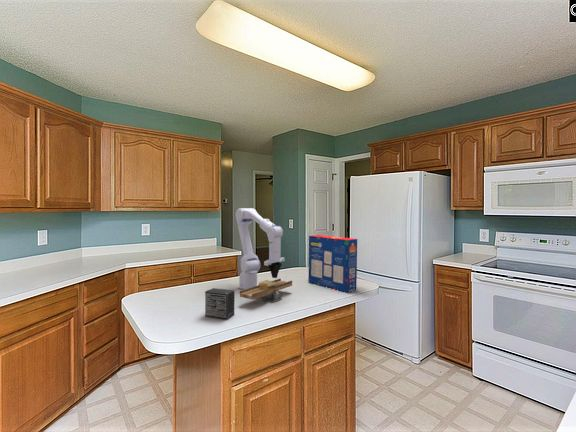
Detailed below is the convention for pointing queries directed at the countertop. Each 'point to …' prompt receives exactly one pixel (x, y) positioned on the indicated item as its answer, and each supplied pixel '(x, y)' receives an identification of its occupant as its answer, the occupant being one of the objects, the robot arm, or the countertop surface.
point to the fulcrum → (271, 297)
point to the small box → (219, 303)
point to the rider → (266, 284)
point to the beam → (257, 293)
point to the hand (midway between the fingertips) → (274, 277)
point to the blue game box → (333, 262)
